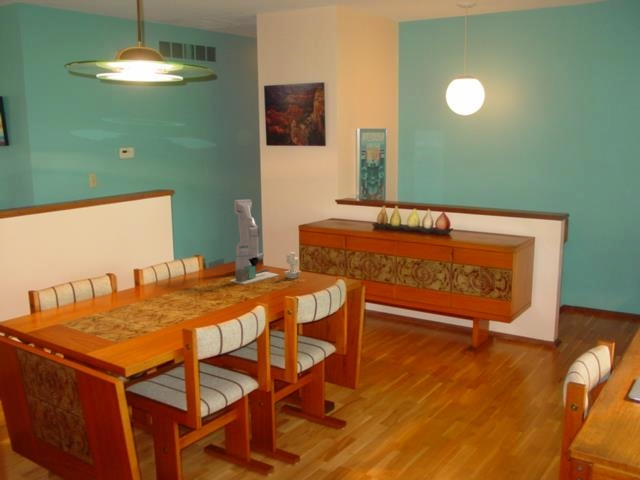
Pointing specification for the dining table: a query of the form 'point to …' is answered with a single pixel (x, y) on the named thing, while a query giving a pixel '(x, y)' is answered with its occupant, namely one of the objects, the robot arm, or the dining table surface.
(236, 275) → the rod stand
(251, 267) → the sleeve
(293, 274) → the figurine
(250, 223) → the robot arm
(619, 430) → the dining table surface
